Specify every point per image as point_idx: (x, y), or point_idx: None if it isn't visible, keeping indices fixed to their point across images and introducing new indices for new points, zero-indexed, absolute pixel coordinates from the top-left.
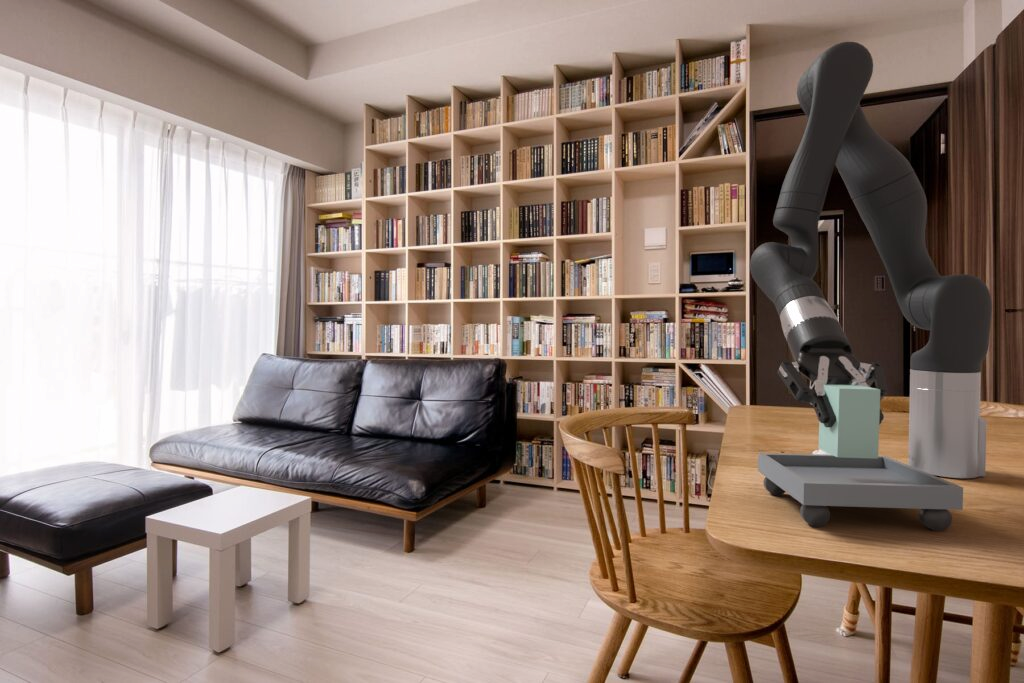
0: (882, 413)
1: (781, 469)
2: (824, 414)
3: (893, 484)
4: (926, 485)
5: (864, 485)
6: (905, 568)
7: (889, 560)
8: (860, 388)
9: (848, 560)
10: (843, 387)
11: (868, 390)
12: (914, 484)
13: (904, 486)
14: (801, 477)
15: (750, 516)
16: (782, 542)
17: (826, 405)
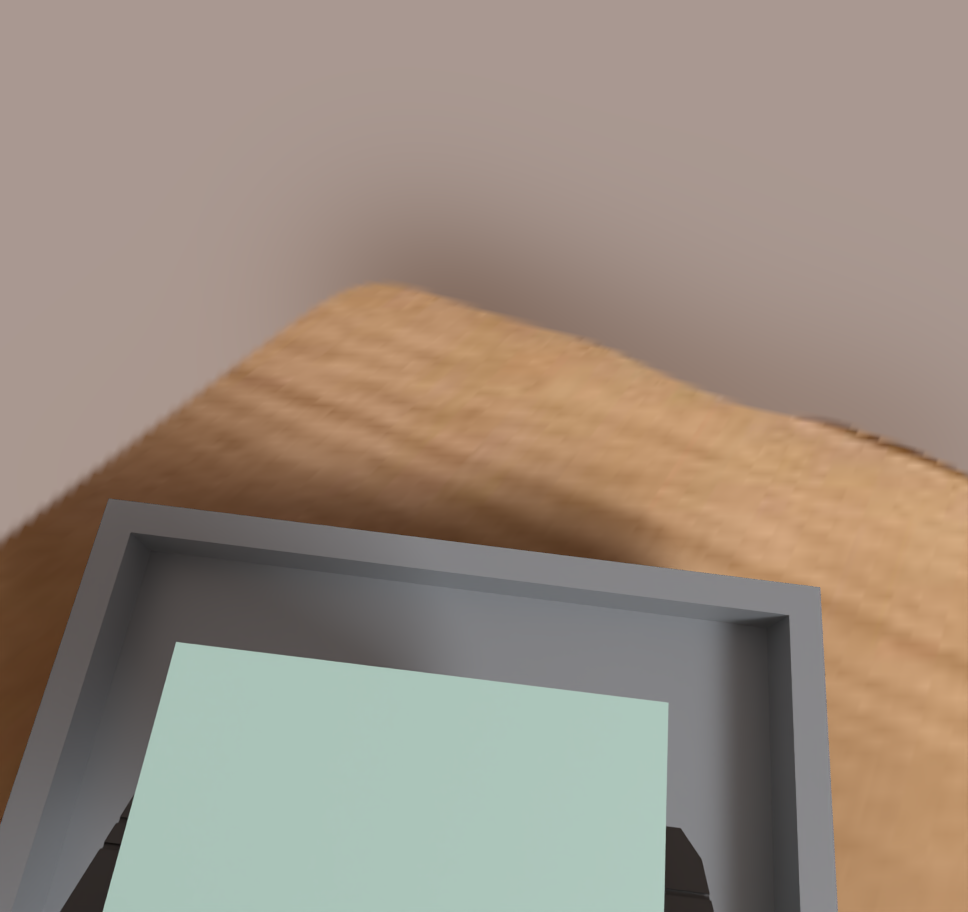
0: (126, 807)
1: (833, 879)
2: (685, 850)
3: (399, 552)
4: (252, 532)
5: (542, 553)
6: (581, 351)
7: (591, 395)
8: (367, 733)
9: (713, 400)
10: (529, 850)
11: (319, 661)
12: (296, 549)
13: (362, 533)
14: (791, 684)
15: (910, 789)
16: (863, 526)
17: (666, 903)
